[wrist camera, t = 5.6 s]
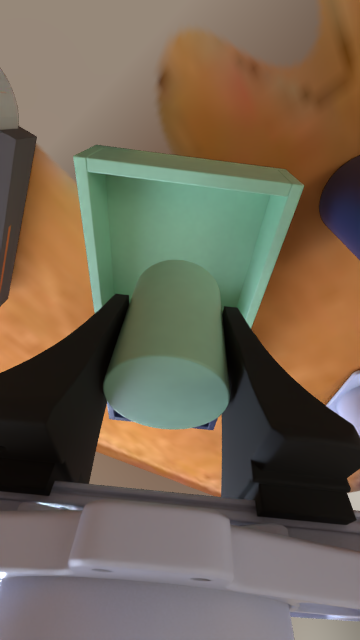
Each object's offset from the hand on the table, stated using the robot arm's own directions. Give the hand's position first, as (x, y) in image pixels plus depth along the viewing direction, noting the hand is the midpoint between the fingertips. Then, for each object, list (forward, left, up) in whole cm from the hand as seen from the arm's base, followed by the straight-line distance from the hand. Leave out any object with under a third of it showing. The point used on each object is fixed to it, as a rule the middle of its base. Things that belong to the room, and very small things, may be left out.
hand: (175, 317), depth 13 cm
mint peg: (0, 0, -2) cm, 2 cm away
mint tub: (0, 0, -8) cm, 8 cm away
